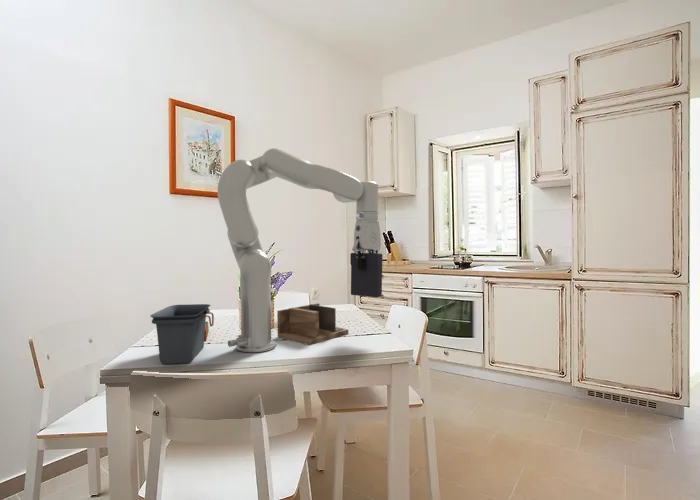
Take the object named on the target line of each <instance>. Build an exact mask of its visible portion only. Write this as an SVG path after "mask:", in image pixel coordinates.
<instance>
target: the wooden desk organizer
mask: <svg viewBox="0 0 700 500" xmlns="http://www.w3.org/2000/svg"><path fill="white" fill-rule="evenodd" d="M276 311H277V312H276V313H277V338H280V339H284V340H287V341H291V342H296V343H300V344H305V345H309V346H311V345H314V344H318V343H320V342H324V341H327V340H331V339H334V338H338V337H341V336H344V335H348V334H349V329H348V328H342V327H339V326H337V325H336V324H337V323H336V322H337V320H336V312H337V311H336V307H332V306H331V307H329V306H322V305H320V303H319V302H317V303H312V304H305V305H300V306H296V307H288V308H286V309H280V310H276Z"/></svg>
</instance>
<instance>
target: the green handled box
mask: <svg viewBox="0 0 700 500" xmlns="http://www.w3.org/2000/svg"><path fill="white" fill-rule="evenodd" d="M209 330H210V329H209V321H205V334H204V342H207V340H208V335H209V332H210V331H209Z"/></svg>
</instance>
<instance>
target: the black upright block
mask: <svg viewBox="0 0 700 500" xmlns="http://www.w3.org/2000/svg"><path fill="white" fill-rule="evenodd" d="M364 259H366V270H358V258H357V257H356V254H355V252H351V253H350V258H349V260H350V262H349V263H350V272H351V273H350V295H351V296H358V297H359V296H360V297H368V298H369V297H370V298H380V297H382V292H383V253H380V252H378V253H368V252H366V253H365V258H364Z"/></svg>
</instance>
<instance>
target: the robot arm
mask: <svg viewBox="0 0 700 500" xmlns="http://www.w3.org/2000/svg"><path fill="white" fill-rule="evenodd" d="M276 178H279V179H281V180H283V181H286V182H289V183H292V184H294V185H296V186H300V187H302V188H304V189H309V190H319V191H321V190H322V191H326V192H329V193H332V194H333V197H334V199H335V200H336V201H337V202H339V203H344V204H346V203H355V202H356V213H355V217H356V218H355V224H354V225H355V226H354V231H353V232H354V233H353V247H352V248H351V249H352V252H353V253H355V254H356V257H357V258H358V270H366V259H364V258H365V253H379V251H380V250H381V245H382V243H381V240H382V239H381V227H380V223H379V222H380V221H378V219H379V218H378V217H379V216H378V215H379V186H378V183H377V181H376V182H375V181H371V180H368V181H367V180H366V181H365V180H364V181H360V180H359V179H357V177H354V176H352V175H349V174H347V173H345V172H343V171H340V170H337V169H334V168H330V167H326V166H324V165H321V164H316V163H313V162H310V161H308V160H306V159H303V158H301V157H299V156H296V155H293V154H291V153H289V152H286V151H284V150H282V149H278V148H269V149H268V150H266V151H265V152H264V153H263V154H262V155H261V156H259V157H257V158H253V159H251V160H249V161H247V160H245V159H236V160H234V161H232V162H231V163H230V164H228V165H227V167H225V169H224V170H223V172H222V173H221V175H220V177H219V180H218V183H217V184H218V185H217V199H218V204H219V207H220V210H221V213H222V216H223V219H224V222H225V225H226V228H227V238H228V241H229V244H230V246H231V249H232V252H233V255H234V258H235V260H236V263H237V265H238V268H239V273H240V274H239V280H240V285H239V287H240V290H239V295H240V297H239V298H240V299H239V300H240V334H238V336H237V337H236V338H235V339H230V340H228V341H227V345H228V346H227V347H228V348H232V347H236V350H237V351H238V352H243V353H261V352H268V351H270V350H273V349H275V348H276V347H277V342H276V341H275V340H273V339H272V309H271V308H272V304H271V303H272V299H271V298H272V297H271V296H272V295H271V284H272V283H271V282H272V280H271V278H272V264H271V259H270V258H269V256H268V255H267V254H266V253H265V252H264V250H263V247H262V245H261V244H262V243H261V241H260V238H259V229H258V226H257V223H256V222H255V220H254V217H253V214H252V211H251V208H250V205H249V201H248V199H247V189H250V188H253V187H255V186H258V185H261V184H264V183H266V182H268V181H271V180H273V179H276ZM366 251H367V252H366Z"/></svg>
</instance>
